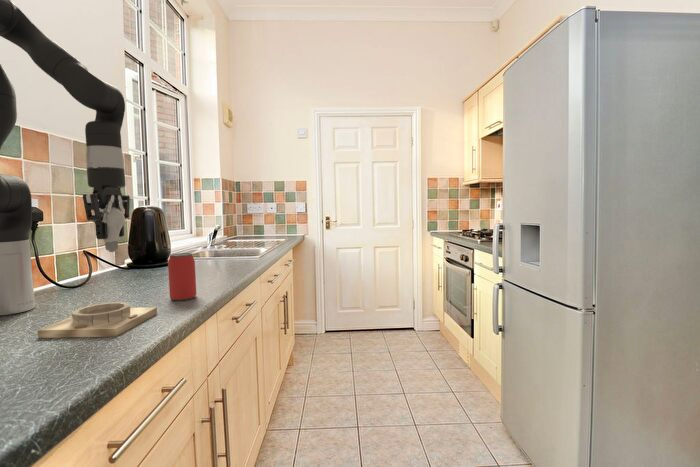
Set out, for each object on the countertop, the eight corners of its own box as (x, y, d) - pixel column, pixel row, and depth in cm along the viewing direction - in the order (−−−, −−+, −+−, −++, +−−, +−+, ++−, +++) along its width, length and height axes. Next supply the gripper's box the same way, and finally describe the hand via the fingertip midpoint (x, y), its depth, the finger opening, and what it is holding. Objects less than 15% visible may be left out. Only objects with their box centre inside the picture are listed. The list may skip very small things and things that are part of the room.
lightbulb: (132, 250, 92) (129, 206, 92) (114, 253, 86) (111, 206, 86) (109, 250, 93) (106, 206, 92) (90, 254, 87) (86, 207, 86)
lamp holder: (38, 337, 71) (36, 320, 71) (92, 314, 86) (91, 300, 86) (115, 336, 71) (114, 318, 71) (157, 313, 86) (156, 298, 86)
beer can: (191, 294, 105) (188, 252, 104) (200, 297, 100) (198, 253, 100) (166, 298, 100) (163, 254, 100) (175, 302, 96) (172, 256, 95)
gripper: (109, 170, 95) (114, 235, 97) (67, 164, 81) (73, 241, 82) (138, 169, 95) (143, 235, 97) (101, 163, 81) (107, 240, 82)
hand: (110, 237), depth 89 cm, fingers closed on lightbulb, 5 cm apart
